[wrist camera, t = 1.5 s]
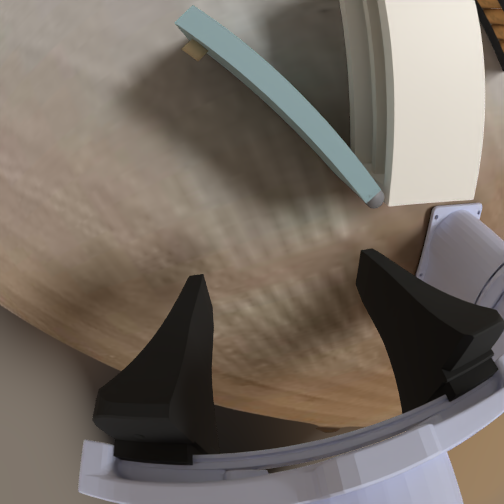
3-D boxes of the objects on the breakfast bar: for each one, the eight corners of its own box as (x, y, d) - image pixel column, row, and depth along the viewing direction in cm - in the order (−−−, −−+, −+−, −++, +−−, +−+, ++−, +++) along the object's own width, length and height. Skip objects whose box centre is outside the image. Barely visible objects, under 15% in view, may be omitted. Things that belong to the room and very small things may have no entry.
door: (351, 169, 19) (387, 199, 14) (332, 186, 20) (363, 221, 15) (202, 28, 13) (193, 5, 8) (181, 49, 13) (162, 35, 9)
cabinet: (428, 170, 20) (473, 199, 15) (350, 173, 20) (388, 206, 15) (425, 7, 11) (474, 1, 6) (336, -14, 11) (375, -41, 6)
